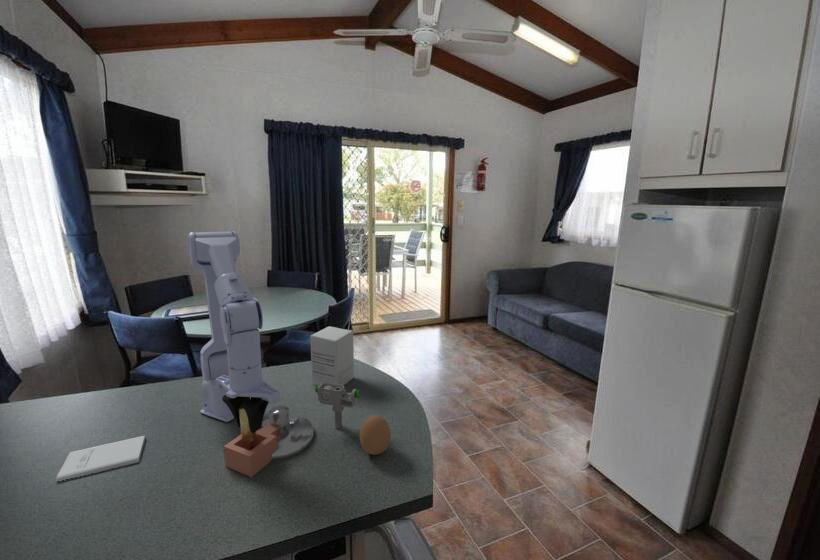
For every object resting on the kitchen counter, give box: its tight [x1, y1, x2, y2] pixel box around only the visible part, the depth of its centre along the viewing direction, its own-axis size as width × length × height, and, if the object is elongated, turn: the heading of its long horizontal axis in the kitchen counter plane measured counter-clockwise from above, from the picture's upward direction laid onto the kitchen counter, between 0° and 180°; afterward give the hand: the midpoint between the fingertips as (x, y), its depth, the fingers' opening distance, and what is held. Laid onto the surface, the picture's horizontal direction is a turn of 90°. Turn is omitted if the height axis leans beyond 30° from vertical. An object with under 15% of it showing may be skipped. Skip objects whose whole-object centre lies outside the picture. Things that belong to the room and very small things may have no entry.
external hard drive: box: [55, 435, 147, 482], centre depth 74 cm, size 2×8×12 cm
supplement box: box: [309, 326, 355, 389], centre depth 106 cm, size 9×9×15 cm
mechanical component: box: [314, 383, 361, 430], centre depth 85 cm, size 3×10×10 cm, turn 78°
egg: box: [359, 414, 392, 456], centre depth 77 cm, size 6×6×8 cm
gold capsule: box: [239, 404, 257, 443], centre depth 72 cm, size 3×3×7 cm
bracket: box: [223, 423, 281, 478], centre depth 75 cm, size 7×10×4 cm
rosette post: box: [252, 404, 314, 461], centre depth 81 cm, size 14×14×7 cm
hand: (249, 427), depth 73 cm, fingers closed on gold capsule, 3 cm apart
